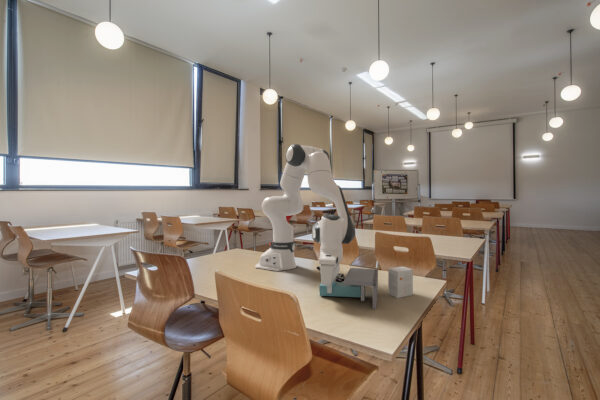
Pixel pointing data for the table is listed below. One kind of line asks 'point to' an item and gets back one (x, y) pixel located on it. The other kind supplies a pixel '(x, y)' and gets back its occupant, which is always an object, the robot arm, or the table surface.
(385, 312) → the table surface
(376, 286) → the overhang shelf
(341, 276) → the black toy gun
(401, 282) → the small box
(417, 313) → the table surface
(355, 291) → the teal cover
